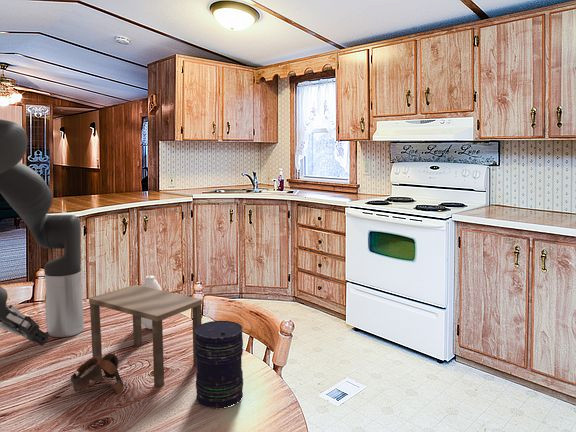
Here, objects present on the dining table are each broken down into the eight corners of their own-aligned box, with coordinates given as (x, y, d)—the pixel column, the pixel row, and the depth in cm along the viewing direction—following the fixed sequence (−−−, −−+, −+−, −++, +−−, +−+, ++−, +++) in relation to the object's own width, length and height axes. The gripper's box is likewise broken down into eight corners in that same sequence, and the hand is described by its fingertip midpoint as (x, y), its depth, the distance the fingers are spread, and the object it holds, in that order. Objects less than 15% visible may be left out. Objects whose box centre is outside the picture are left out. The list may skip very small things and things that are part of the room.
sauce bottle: (171, 326, 143) (169, 266, 140) (150, 335, 136) (148, 272, 134) (152, 321, 147) (150, 262, 144) (131, 329, 140) (129, 268, 138)
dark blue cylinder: (191, 390, 105) (190, 324, 103) (235, 382, 109) (234, 318, 107) (202, 413, 96) (201, 341, 94) (249, 403, 100) (249, 333, 98)
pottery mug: (117, 403, 101) (94, 374, 98) (81, 418, 103) (57, 390, 100) (137, 364, 112) (116, 338, 109) (104, 378, 114) (83, 352, 111)
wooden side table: (92, 362, 118) (88, 298, 116) (137, 343, 130) (135, 284, 128) (159, 387, 106) (157, 316, 104) (203, 364, 118) (201, 299, 116)
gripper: (5, 281, 81) (75, 329, 93) (-36, 270, 88) (34, 316, 100) (-26, 321, 77) (51, 366, 89) (-67, 306, 84) (10, 349, 96)
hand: (42, 339), depth 94 cm, fingers closed
